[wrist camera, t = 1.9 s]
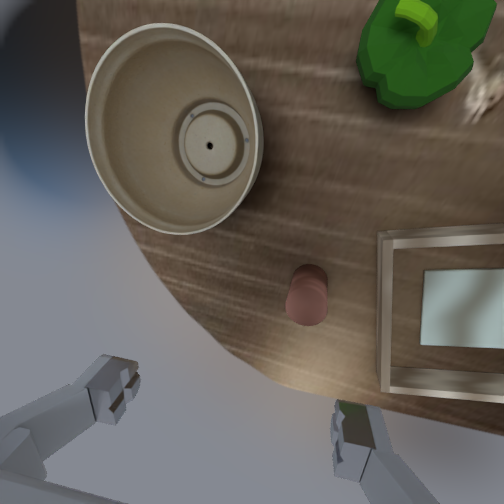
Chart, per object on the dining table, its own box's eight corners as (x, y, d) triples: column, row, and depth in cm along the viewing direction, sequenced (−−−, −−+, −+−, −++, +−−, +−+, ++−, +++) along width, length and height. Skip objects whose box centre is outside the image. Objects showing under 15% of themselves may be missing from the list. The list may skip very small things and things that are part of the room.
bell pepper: (472, 62, 24) (561, 6, 15) (389, 133, 27) (420, 124, 18) (413, -14, 23) (468, -122, 14) (335, 69, 27) (340, 25, 18)
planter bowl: (213, 28, 28) (152, -39, 18) (310, 150, 30) (301, 149, 20) (131, 141, 35) (54, 136, 25) (214, 235, 36) (172, 266, 26)
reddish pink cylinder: (326, 263, 34) (326, 289, 27) (328, 295, 35) (328, 326, 29) (291, 264, 35) (283, 289, 28) (294, 295, 36) (287, 325, 30)
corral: (610, 216, 25) (651, 225, 22) (563, 384, 31) (590, 410, 28) (376, 231, 31) (382, 240, 28) (376, 371, 37) (381, 391, 34)
